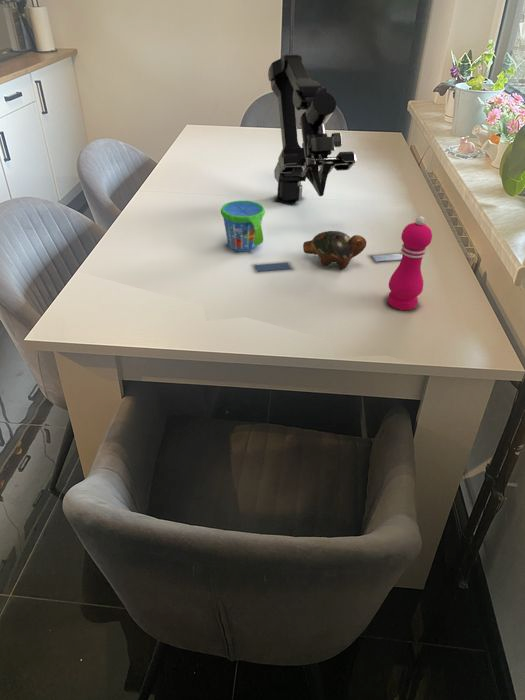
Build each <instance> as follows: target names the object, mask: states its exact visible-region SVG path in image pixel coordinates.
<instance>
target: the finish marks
mask: <svg viewBox="0 0 525 700" xmlns="http://www.w3.org/2000/svg"><path fill="white" fill-rule="evenodd" d="M371 257H372V259H373V260H374V261H375V262H376V263H380V262H391V261H401V259H402V253H395V254H394V253H393V254H392V253H391V254H380V255H371ZM255 268H256V270H257V272H258V273H259V272H270V271H283V270H291V269H292V268H291V266H290V265H289V263H288V262H280V263H266V264H255Z"/></svg>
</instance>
